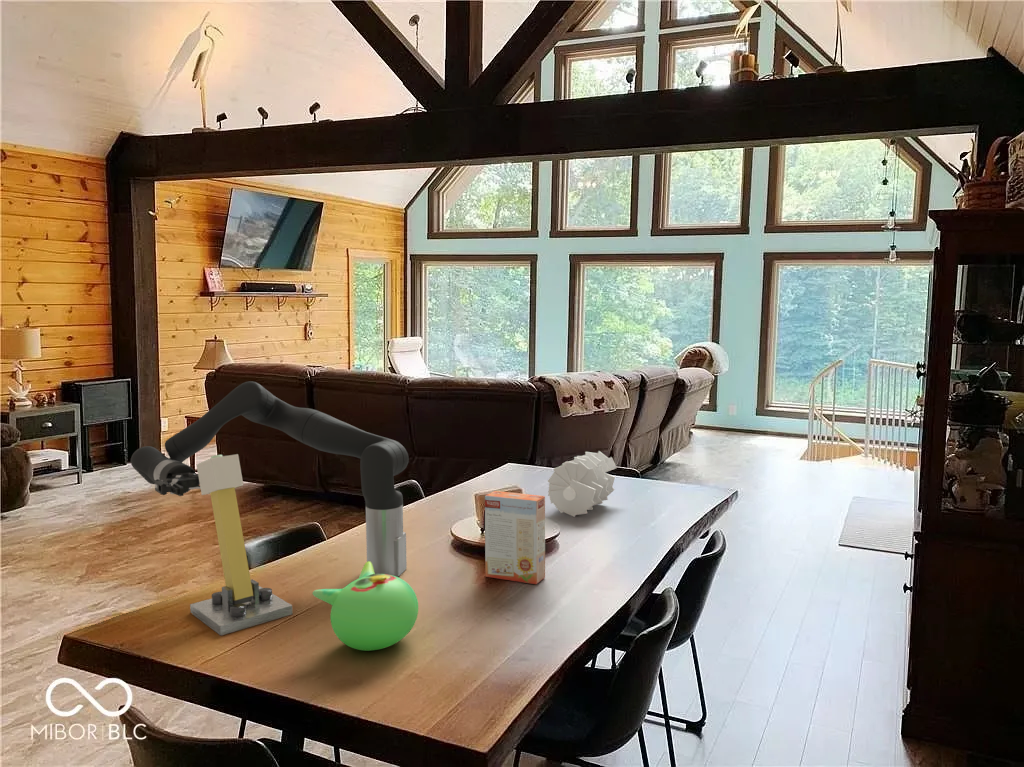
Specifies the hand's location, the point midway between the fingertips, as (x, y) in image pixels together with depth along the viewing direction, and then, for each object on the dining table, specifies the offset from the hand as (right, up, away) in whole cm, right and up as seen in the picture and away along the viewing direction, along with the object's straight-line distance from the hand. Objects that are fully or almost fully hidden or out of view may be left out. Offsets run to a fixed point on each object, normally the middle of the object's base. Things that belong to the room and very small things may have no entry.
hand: (200, 488), depth 183 cm
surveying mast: (+14, -23, -12) cm, 30 cm away
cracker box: (+74, -24, +10) cm, 78 cm away
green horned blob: (+45, -28, -27) cm, 60 cm away
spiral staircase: (+96, -17, +73) cm, 122 cm away
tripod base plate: (+14, -26, -12) cm, 32 cm away
